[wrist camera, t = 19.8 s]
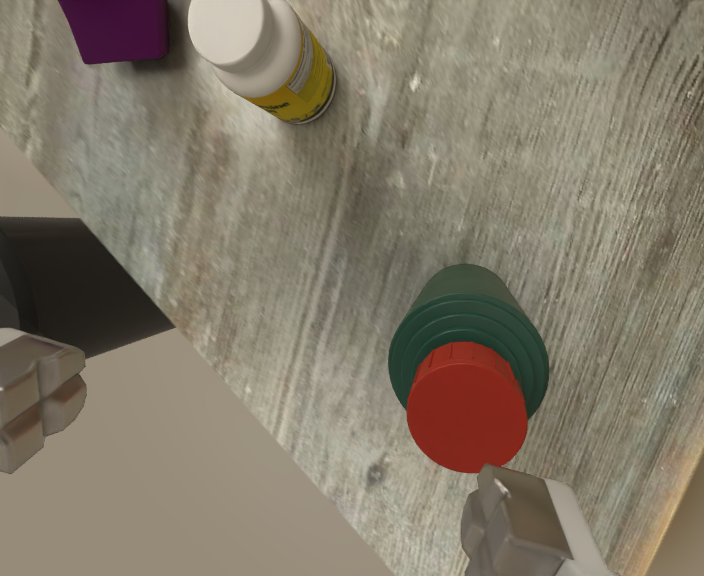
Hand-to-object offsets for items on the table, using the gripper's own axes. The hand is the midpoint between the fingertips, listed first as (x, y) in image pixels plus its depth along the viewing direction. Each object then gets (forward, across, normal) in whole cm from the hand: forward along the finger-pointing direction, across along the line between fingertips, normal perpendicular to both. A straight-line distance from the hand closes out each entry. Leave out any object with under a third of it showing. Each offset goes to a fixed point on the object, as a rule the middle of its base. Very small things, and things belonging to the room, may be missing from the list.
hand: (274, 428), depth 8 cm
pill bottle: (+29, +8, -7) cm, 31 cm away
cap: (+6, -5, +2) cm, 8 cm away
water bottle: (+24, -8, +6) cm, 26 cm away
